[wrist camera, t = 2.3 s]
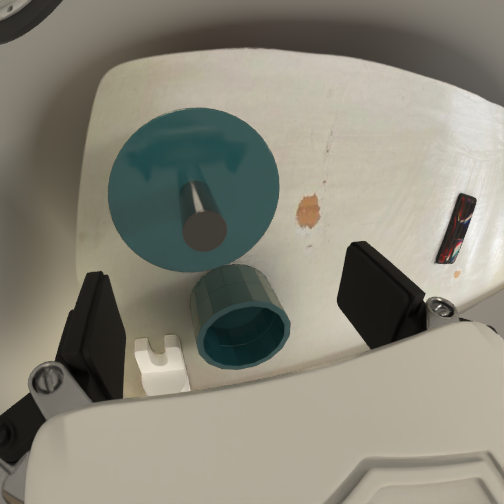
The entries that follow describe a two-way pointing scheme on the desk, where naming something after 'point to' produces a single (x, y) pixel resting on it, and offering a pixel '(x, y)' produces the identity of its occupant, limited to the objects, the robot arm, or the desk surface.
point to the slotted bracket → (162, 367)
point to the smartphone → (457, 229)
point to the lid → (193, 190)
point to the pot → (237, 318)
